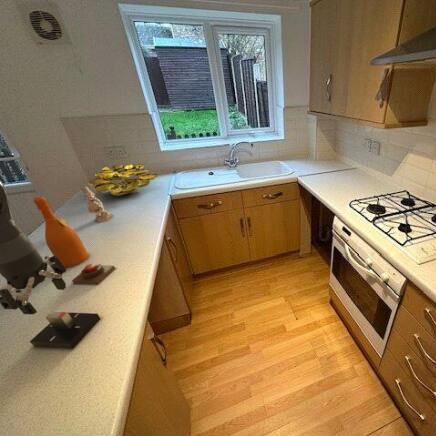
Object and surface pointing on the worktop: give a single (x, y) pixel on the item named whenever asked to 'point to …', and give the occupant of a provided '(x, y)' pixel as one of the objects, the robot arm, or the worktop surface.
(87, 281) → the button block
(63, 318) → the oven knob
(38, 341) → the panel
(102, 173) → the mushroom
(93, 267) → the button
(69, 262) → the wine bottle
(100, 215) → the figurine
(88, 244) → the worktop surface
